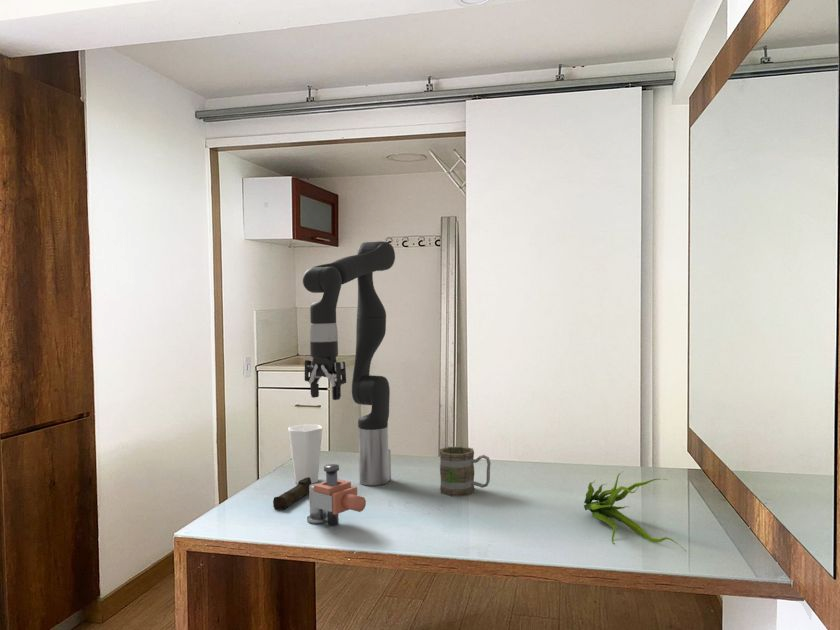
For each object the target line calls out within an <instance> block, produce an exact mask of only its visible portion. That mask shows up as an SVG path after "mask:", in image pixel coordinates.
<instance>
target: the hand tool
mask: <svg viewBox="0 0 840 630" xmlns="http://www.w3.org/2000/svg"><path fill="white" fill-rule="evenodd" d="M310 485H312V484H311V479H310V478H309V477H307V478H304V479H302V480H300V481H299V482H298V484H296V486H294V487H292V488H290V489H289V490H288V491H285V492H283V493H282V494H280V495H278V496H275V497H273V500H272V507H273V508H274V510H278V511H284V510H285V509H286V508H288V506H289V505H291V504H292V503H294V502H295V501H297V500H298V499H299V498H301V497H307V496H308V495H309V486H310Z"/></svg>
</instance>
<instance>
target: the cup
mask: <svg viewBox="0 0 840 630" xmlns="http://www.w3.org/2000/svg"><path fill="white" fill-rule="evenodd" d="M287 430H288V437H289V445H290V452H291V453H290V454H291V459H292V466H293V473H294V481H295V484H296V485H298V482H299V481H300V480H302V479H304V478H307V477H309V478H310V479H311V485H312V484H316V483H318V482H319V475H320V473H319V472H320V461H321V460H320V459H321V450H322V448H321V447H322V434H323V427H322V426H321V425H320V424H309V423H307V424H304V423H303V424H298V425H292V426H288V429H287Z"/></svg>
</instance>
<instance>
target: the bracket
mask: <svg viewBox="0 0 840 630" xmlns="http://www.w3.org/2000/svg"><path fill="white" fill-rule="evenodd" d="M337 483H338V485H336V486H333V487H331V486H327V485H326V480H325V481H323V482H319V484H316V483H314V484H315V485H313V491H315V492H319V493H323V494H327V495H331V494H332V505H333V514H335V515H336V514H338V515H339V514H341V513H344V512H347V511H349V510H352V511H354V512H358V513H361V512H363V510H365V507H366V506H367V505H366V504H367V500H366V498H365V497H364V496H361V495H358V487H357V486H352V481H349V480H346V479H341V478H340V479H339V478H337Z"/></svg>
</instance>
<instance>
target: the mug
mask: <svg viewBox="0 0 840 630" xmlns="http://www.w3.org/2000/svg"><path fill="white" fill-rule="evenodd" d="M439 456H440V457H439V458H440V459H439V460H440V461H439V473H440V474H439V475H440V487H439V491H440V492H439V493H440V494H442V495H445V496H449V497H466V496H469V495H472V494H475V493H476V492H475V491H476V490H475V486H476V487H480V488H485V487H486V488H487V487H488V486H489V484H490V480H491V479H490V478H491V460H490V457H489V456H487V455H485V454H483V455H479V456H478V457H476V459H474V457H475V450H474V448H471V447H468V446H462V445H461V446H447V447H444V448H443V447H442V448H440V449H439ZM481 459H485V460H486V464H487V467H486V481H485V483H481V482H478V481H475V479H474V478H475V466H474V465H475V464H476V463H479V462H480V461H481Z"/></svg>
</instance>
